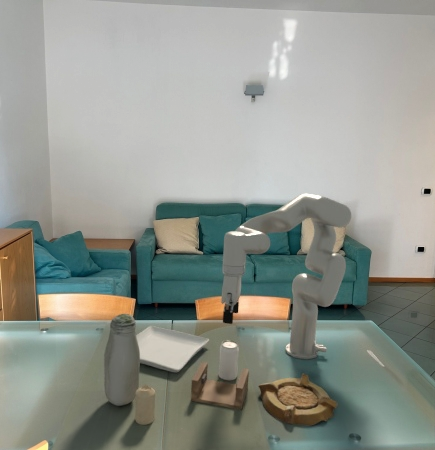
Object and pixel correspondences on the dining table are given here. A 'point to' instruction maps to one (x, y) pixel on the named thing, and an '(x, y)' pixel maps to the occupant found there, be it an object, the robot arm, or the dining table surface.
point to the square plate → (168, 348)
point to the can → (228, 360)
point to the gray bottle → (121, 361)
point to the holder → (219, 389)
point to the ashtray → (297, 401)
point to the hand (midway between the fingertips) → (230, 317)
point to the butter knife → (375, 357)
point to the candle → (145, 405)
